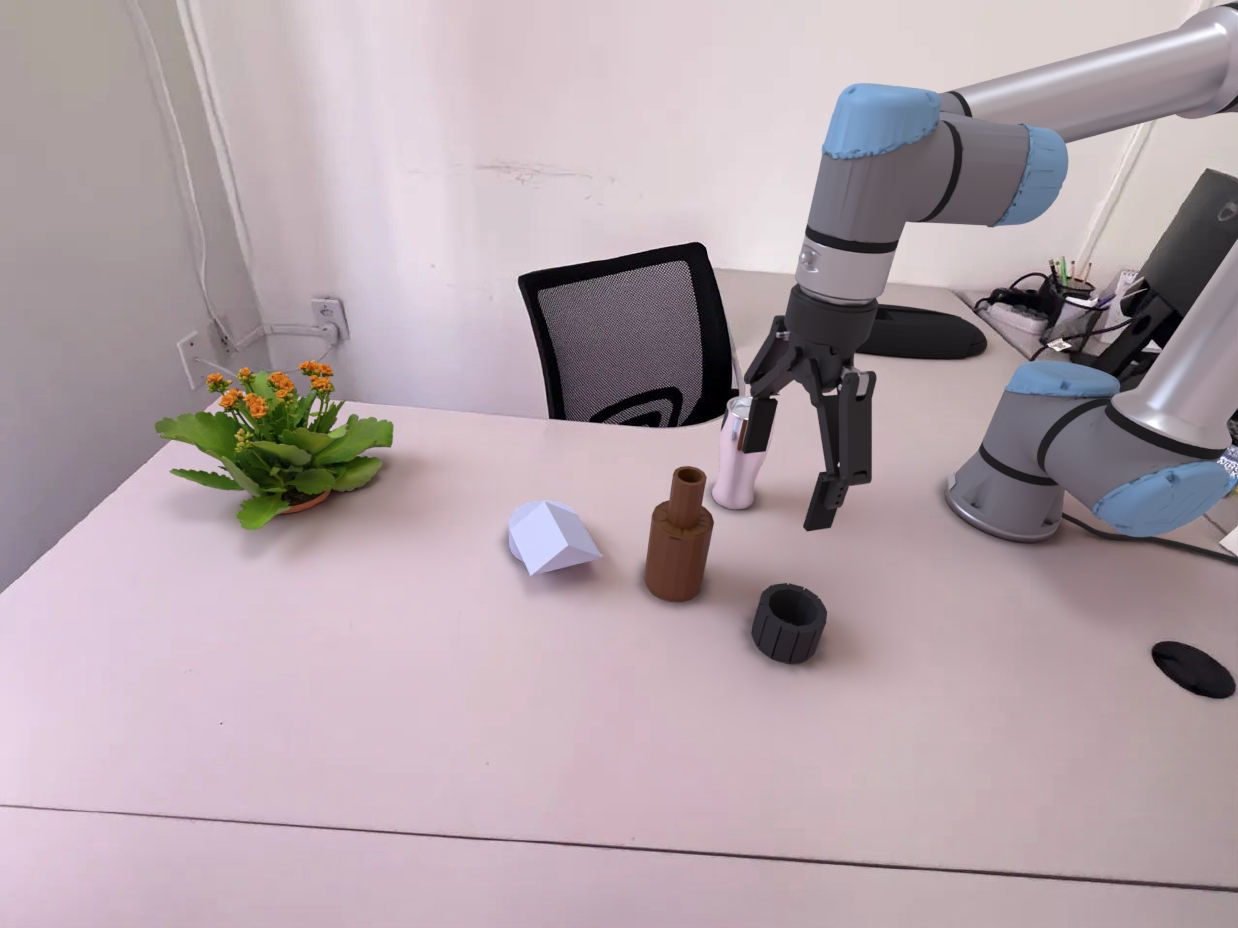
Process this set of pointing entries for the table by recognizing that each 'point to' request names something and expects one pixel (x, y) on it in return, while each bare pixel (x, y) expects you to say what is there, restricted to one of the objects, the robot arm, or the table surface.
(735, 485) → the beer glass
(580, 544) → the wedge on round base
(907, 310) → the black flat oval pad
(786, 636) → the rubber collar
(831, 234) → the robot arm
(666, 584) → the brown bottle
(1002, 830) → the table surface
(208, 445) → the potted flower
